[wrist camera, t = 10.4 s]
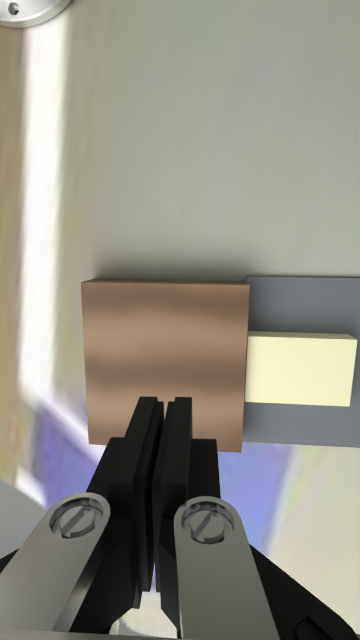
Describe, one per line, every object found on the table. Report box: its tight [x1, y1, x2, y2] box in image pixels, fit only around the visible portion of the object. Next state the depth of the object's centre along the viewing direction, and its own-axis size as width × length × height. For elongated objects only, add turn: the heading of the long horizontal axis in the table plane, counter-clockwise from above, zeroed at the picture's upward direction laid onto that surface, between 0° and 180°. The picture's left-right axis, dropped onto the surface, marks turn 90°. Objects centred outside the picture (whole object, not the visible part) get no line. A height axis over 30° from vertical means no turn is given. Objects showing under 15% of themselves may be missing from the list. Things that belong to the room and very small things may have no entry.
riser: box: [81, 279, 250, 453], centre depth 31 cm, size 15×14×3 cm
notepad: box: [244, 331, 357, 407], centre depth 30 cm, size 6×9×2 cm, turn 89°
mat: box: [242, 276, 360, 448], centre depth 31 cm, size 16×14×1 cm
